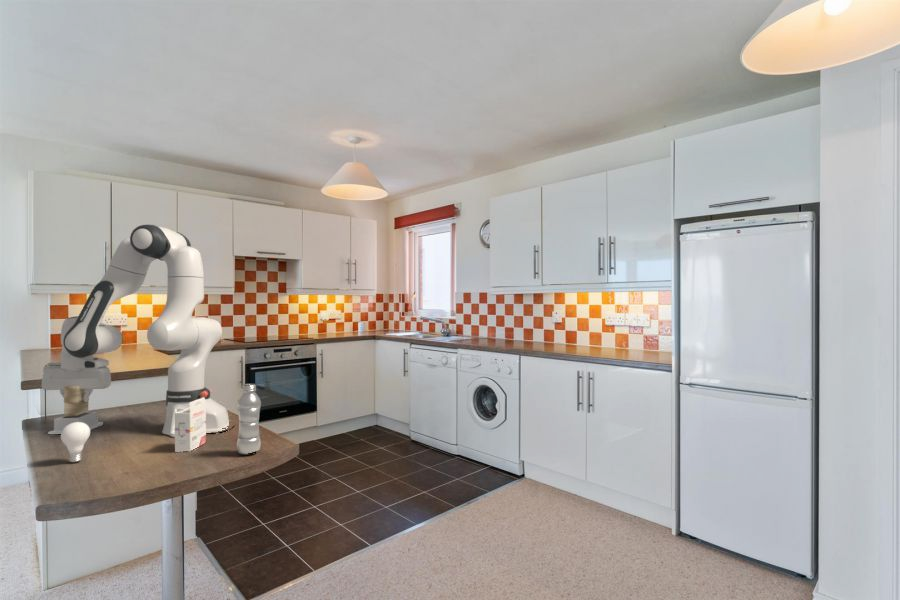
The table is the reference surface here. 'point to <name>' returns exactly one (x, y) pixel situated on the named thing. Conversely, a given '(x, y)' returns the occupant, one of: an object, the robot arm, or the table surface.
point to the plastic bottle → (248, 420)
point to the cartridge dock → (86, 418)
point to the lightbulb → (75, 439)
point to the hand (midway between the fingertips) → (76, 402)
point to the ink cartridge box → (190, 426)
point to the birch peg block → (74, 401)
